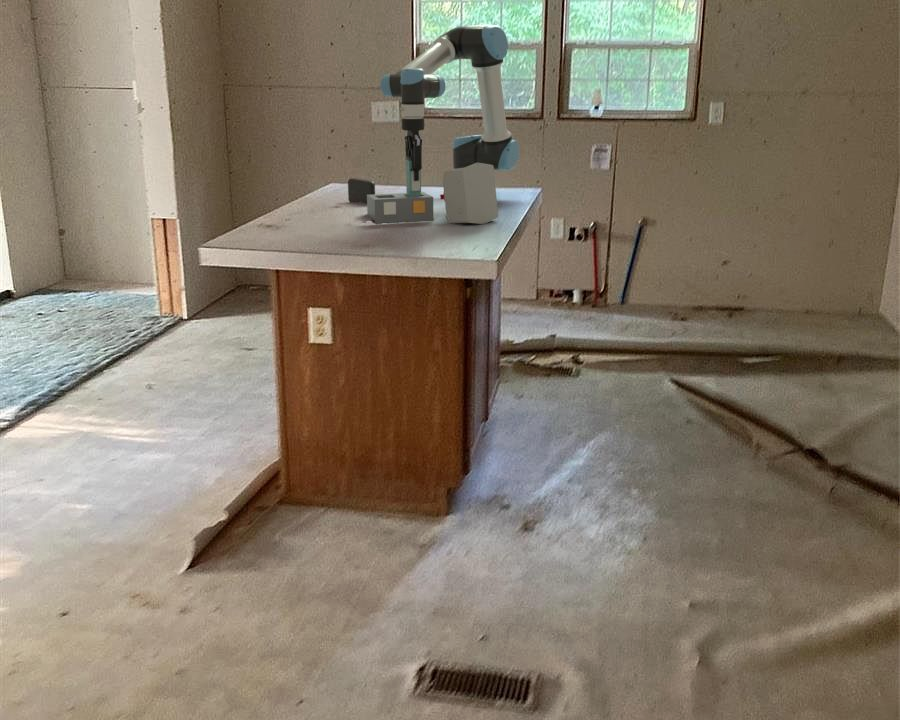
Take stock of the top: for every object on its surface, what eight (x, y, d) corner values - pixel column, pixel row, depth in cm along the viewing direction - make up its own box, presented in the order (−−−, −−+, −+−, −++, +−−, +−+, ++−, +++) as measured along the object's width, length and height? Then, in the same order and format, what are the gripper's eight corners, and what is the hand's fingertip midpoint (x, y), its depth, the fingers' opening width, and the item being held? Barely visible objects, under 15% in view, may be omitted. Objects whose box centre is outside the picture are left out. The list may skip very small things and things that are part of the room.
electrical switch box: (467, 222, 309) (461, 164, 305) (498, 221, 298) (493, 160, 294) (437, 227, 299) (430, 167, 295) (468, 226, 289) (462, 164, 285)
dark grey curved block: (382, 207, 328) (381, 181, 325) (371, 208, 326) (371, 182, 323) (357, 202, 340) (356, 177, 337) (347, 203, 338) (346, 178, 334)
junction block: (423, 215, 310) (423, 192, 308) (433, 221, 299) (433, 197, 296) (367, 218, 305) (366, 194, 302) (375, 224, 293) (374, 199, 291)
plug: (418, 197, 304) (417, 156, 299) (421, 199, 300) (421, 157, 295) (406, 198, 303) (405, 156, 298) (409, 200, 299) (408, 157, 294)
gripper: (395, 116, 300) (397, 186, 307) (408, 119, 284) (409, 193, 291) (417, 116, 302) (418, 185, 309) (431, 119, 286) (431, 192, 294)
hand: (413, 189), depth 300 cm, fingers closed on plug, 4 cm apart
